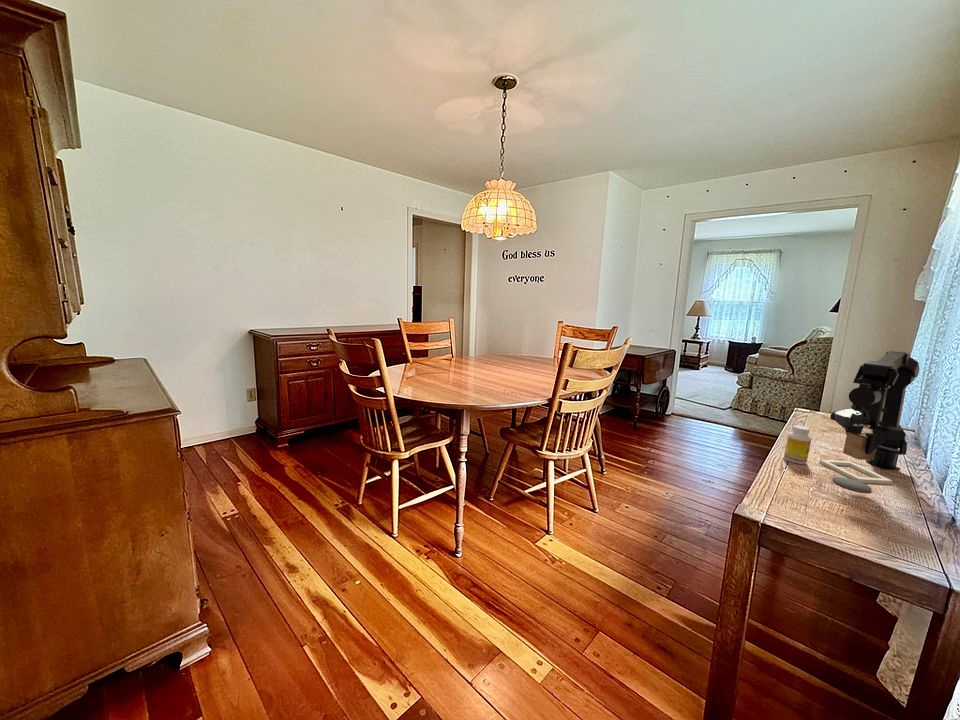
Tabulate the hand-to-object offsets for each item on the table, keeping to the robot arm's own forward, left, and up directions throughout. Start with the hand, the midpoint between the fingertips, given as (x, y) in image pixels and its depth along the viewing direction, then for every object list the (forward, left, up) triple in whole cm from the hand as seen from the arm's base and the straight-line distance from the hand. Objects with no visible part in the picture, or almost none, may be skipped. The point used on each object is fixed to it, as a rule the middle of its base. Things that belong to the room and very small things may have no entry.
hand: (859, 450), depth 122 cm
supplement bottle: (+4, -18, -12) cm, 22 cm away
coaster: (0, 0, -12) cm, 12 cm away
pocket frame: (-10, -10, -12) cm, 18 cm away
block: (0, 0, -2) cm, 2 cm away
